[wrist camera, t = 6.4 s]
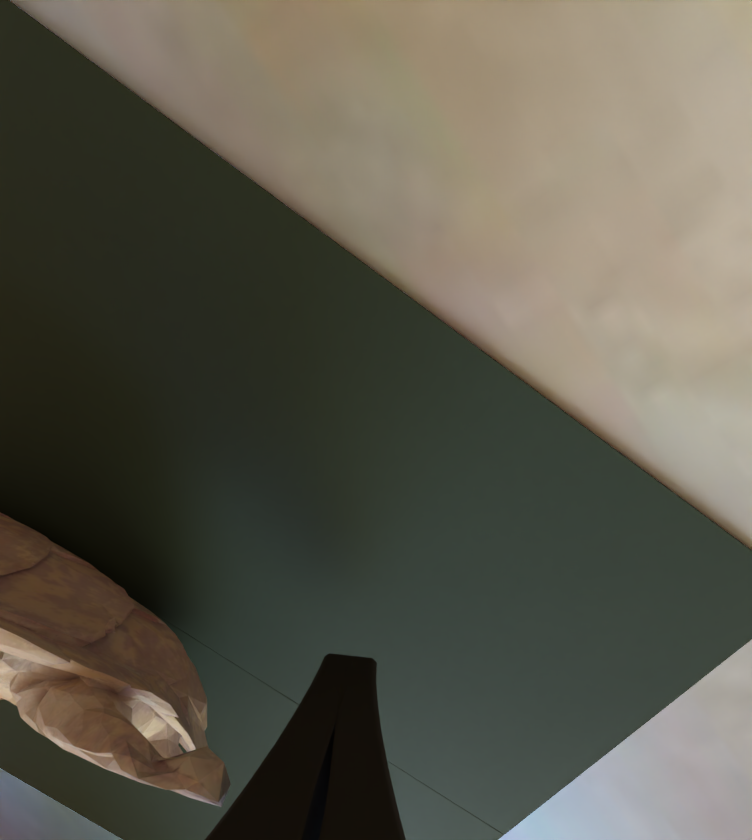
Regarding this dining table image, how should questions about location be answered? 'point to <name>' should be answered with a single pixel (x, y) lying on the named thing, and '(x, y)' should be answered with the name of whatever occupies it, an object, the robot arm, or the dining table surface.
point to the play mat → (315, 480)
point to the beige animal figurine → (100, 670)
